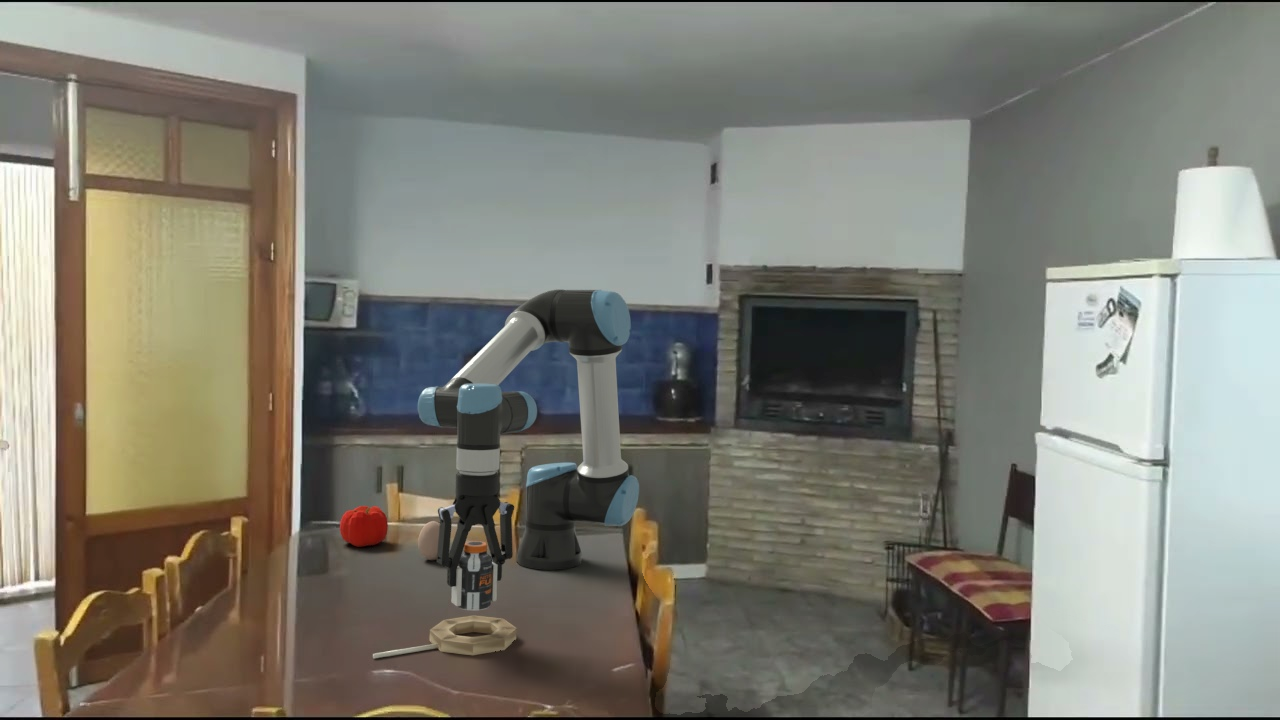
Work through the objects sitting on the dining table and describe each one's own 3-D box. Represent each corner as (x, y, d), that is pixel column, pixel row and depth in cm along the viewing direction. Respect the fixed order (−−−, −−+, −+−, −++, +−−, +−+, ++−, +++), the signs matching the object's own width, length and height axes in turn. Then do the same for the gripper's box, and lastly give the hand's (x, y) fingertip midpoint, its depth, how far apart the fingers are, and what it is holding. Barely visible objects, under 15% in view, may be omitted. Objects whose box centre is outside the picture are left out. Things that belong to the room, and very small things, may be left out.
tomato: (350, 538, 238) (351, 502, 237) (395, 541, 236) (396, 505, 236) (330, 548, 227) (331, 511, 227) (378, 551, 225) (378, 514, 225)
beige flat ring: (494, 622, 176) (494, 612, 176) (526, 646, 164) (526, 635, 164) (421, 634, 168) (421, 623, 168) (449, 659, 157) (449, 647, 156)
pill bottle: (483, 612, 162) (485, 548, 162) (451, 609, 164) (453, 545, 163) (495, 602, 168) (497, 540, 168) (464, 600, 169) (466, 537, 169)
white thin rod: (436, 647, 162) (436, 642, 162) (438, 648, 161) (438, 644, 161) (372, 657, 156) (372, 653, 156) (374, 659, 155) (374, 654, 155)
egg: (451, 561, 218) (452, 522, 218) (423, 565, 215) (424, 525, 214) (440, 555, 224) (440, 517, 223) (413, 558, 220) (414, 519, 220)
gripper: (518, 465, 173) (514, 589, 174) (418, 471, 163) (414, 602, 164) (535, 471, 167) (531, 600, 168) (433, 478, 157) (429, 614, 158)
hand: (474, 601), depth 166 cm, fingers closed on pill bottle, 6 cm apart
